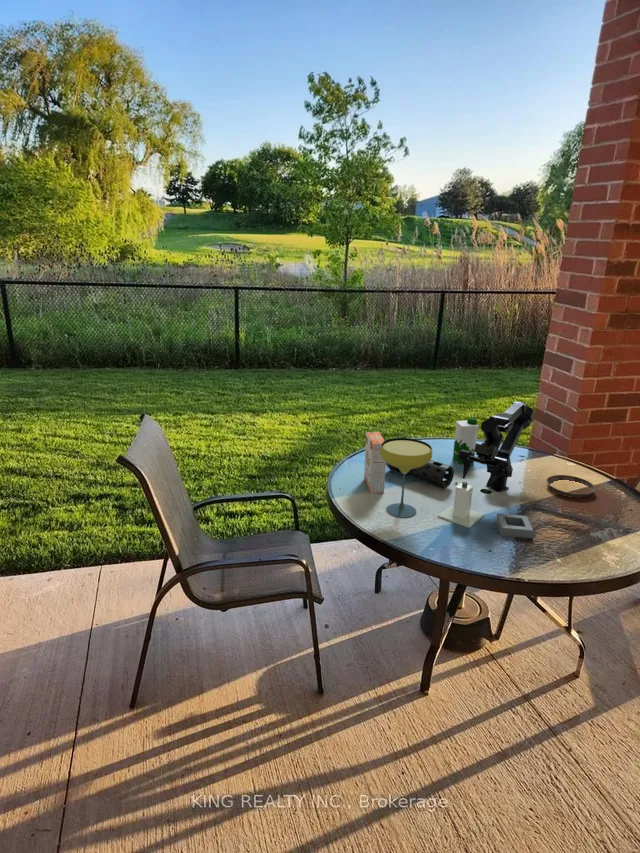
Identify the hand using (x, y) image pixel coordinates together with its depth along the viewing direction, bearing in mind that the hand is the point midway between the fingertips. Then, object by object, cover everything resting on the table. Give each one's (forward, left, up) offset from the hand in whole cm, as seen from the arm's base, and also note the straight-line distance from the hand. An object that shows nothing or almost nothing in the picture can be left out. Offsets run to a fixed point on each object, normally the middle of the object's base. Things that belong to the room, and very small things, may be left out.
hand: (475, 481), depth 189 cm
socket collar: (-2, +18, -10) cm, 21 cm away
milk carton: (-29, -37, -11) cm, 48 cm away
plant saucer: (-47, +5, -11) cm, 48 cm away
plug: (+8, +3, -10) cm, 13 cm away
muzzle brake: (+3, -29, -11) cm, 31 cm away
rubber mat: (+8, +3, -10) cm, 14 cm away
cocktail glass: (+25, -9, -11) cm, 29 cm away
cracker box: (+23, -31, -11) cm, 40 cm away
